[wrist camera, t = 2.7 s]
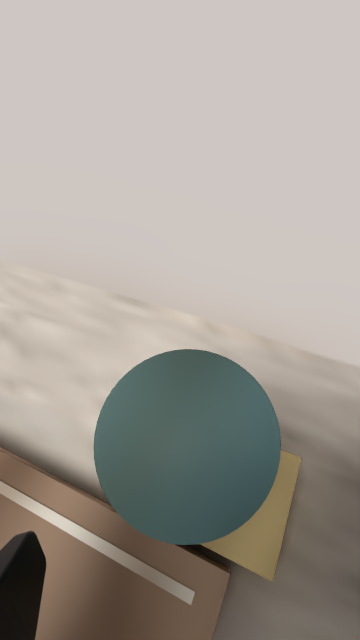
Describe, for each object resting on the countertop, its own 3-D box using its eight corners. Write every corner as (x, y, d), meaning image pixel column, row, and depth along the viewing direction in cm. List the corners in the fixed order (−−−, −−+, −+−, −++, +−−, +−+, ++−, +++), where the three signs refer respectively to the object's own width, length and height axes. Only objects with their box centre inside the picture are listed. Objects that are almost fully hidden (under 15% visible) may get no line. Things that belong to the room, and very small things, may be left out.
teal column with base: (292, 464, 16) (396, 380, 6) (266, 574, 14) (363, 684, 4) (162, 411, 18) (98, 288, 8) (121, 499, 16) (-21, 465, 6)
